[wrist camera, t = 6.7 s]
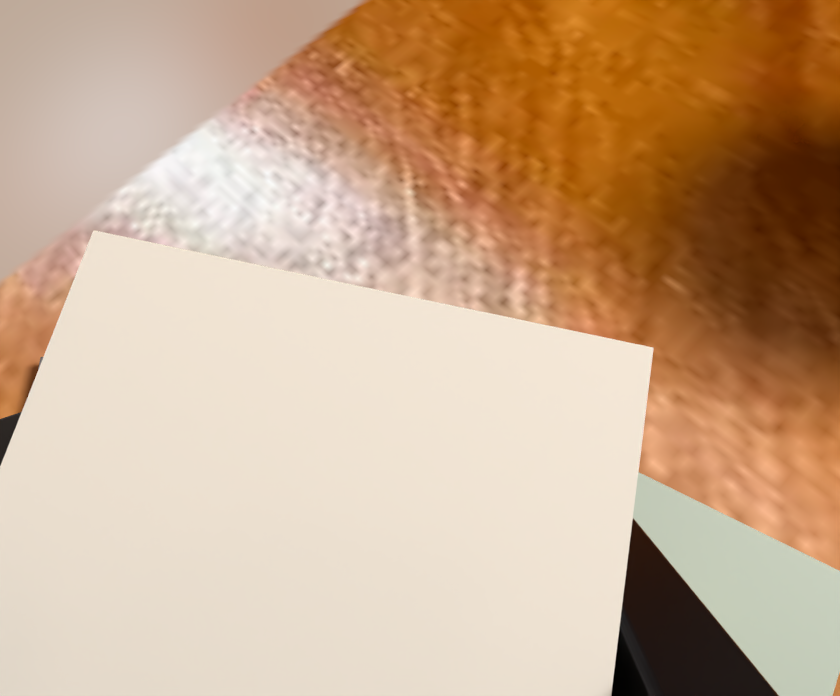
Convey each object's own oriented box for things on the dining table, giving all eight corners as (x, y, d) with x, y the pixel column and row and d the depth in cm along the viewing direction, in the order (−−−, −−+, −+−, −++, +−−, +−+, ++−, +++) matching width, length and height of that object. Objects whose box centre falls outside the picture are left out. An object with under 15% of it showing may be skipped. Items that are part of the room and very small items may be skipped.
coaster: (751, 937, 18) (840, 1035, 15) (416, 749, 19) (418, 794, 16) (857, 583, 21) (954, 588, 17) (556, 435, 22) (587, 410, 18)
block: (460, 733, 13) (566, 1074, 4) (205, 673, 13) (-165, 883, 5) (506, 473, 14) (653, 346, 6) (276, 422, 15) (93, 230, 6)
